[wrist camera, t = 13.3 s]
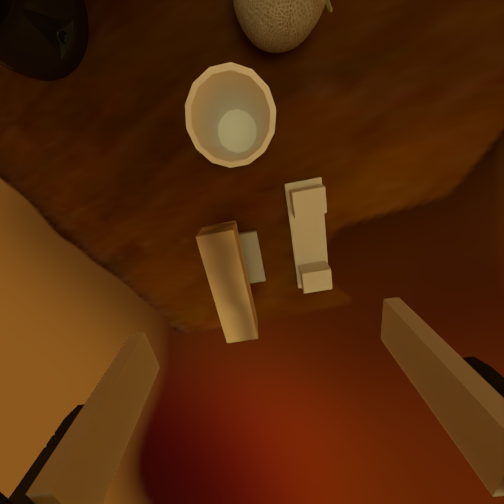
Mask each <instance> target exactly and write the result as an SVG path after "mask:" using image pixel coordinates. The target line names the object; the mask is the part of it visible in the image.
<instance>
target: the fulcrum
mask: <svg viewBox="0 0 504 504" xmlns="http://www.w3.org/2000/svg"><path fill="white" fill-rule="evenodd" d="M239 238H240V242H241V247H242V251H243V256H244V260H245V265H246V269H247V274H248V278H249V283H256V282H262V281H266V278H265V273H264V268H263V262H262V257H261V252H260V247H259V241H258V236H257V231H256V230H252V231H247V232H241V233H239Z"/></svg>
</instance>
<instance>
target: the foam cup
mask: <svg viewBox="0 0 504 504" xmlns="http://www.w3.org/2000/svg"><path fill="white" fill-rule="evenodd" d="M185 115H186V129H187V131H188V133H189V135H190V137H191V139H192V141H193V144H194V146H195V148H196V149H197V150H198V151H199V152H200V153H201V154H203V155H204V156H205V157H206V158H207V159H208V160H209V161H211V162H212V163H215V164H219V165H222V166H226V167H229V168H232V167H237V166H242V165H247V164H250V163H251V162H252V161H254V160H255V159H256V158H258V157H259V156H260V155H261V154H263V153H264V152H265V150H266V149H267V147H268V145H269V143H270V141H271V139H272V137H273V135H274V133H275V120H276V107H275V104H274V101H273V98H272V95H271V92H270V89H269V86H268V85H267V84H266V83H265V82H264V81H263V80H262V79H261V78H260V77H259V76H258V75H257V74H256V73H255V72H254V70H253V69H250V68H247V67H244V66H241V65H238V64H235V63H232V62H229V63H225V64H221V65H216V66H212V67H209V68H208V69H207V70H206V71H205V72H204V73H203V74H202V75H201V76H200V77H198V78H197V79H196V80H195V81H194V82H193V84H192V87H191V89H190V92H189V95H188V98H187V100H186V103H185Z"/></svg>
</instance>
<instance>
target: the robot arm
mask: <svg viewBox="0 0 504 504" xmlns="http://www.w3.org/2000/svg"><path fill="white" fill-rule="evenodd" d="M87 35H88V24H87V16H86V10H85V6H84V2H83V0H0V64H1V65H3V66H5V67H7V68H9V69H11V70H13V71H15V72H18V73H20V74H23V75H26V76H28V77H31V78H35V79H40V80H55V79H59V78H62V77H64V76H66V75H67V74H69V73H70V72H71V71H73V70H74V69H75V68H76V66H77V65H78V64H79V62H80V60H81V59H82V56H83V54H84V51H85V48H86V43H87ZM381 340H382V341H383V343H384V344H385V346H386V347H387V349H388V350H389V351H390V353H391V354H392V355H393V357H394V358H395V360H396V361H397V363H398V364H399V365H400V367H401V368H402V370H403V371H404V372H405V374H406V375H407V377H408V378H409V380H410V381H411V382H412V384H413V385H414V386H415V388H416V389H417V391H418V392H419V394H420V395H421V396H422V398H423V399H424V401H425V402H426V403H427V405H428V406H429V408H430V409H431V410H432V412H433V413H434V415H435V416H436V418H437V419H438V420H439V422H440V423H441V425H442V426H443V427H444V429H445V430H446V432H447V433H448V434H449V436H450V437H451V438H452V440H453V441H454V443H455V444H456V446H457V447H458V449H459V450H460V451H461V453H462V454H463V456H464V457H465V458H466V460H467V461H468V463H469V464H470V465H471V467H472V468H473V470H474V471H475V472H476V474H477V475H478V477H479V478H480V479H481V481H482V482H483V484H484V485H485V486H486V488H487V489H488V491H489V492H490V494H491V495H492V496H493V497H494V496H504V378H503V377H502V376H501V375H500V374H499V373H498V372H497V371H496V370H494V369H493V368H492V367H491V366H489V365H487V364H485V363H484V362H482V361H480V360H479V359H477V358H475V357H466V358H461V357H460V356H459V355H458V354H457V353H456V352H455V351H454V350H453V349H452V348H451V347H450V346H449V345H448V344H447V343H446V342H445V341H444V340H442V338H441V337H440V336H438V335H437V334H436V333H435V332H434V331H433V330H432V329H431V328H430V327H429V326H428V325H427V324H426V323H425V322H424V321H423V320H422V319H421V318H420V317H419V316H417V314H416V313H414V312H413V311H412V310H411V309H410V308H409V307H408V306H407V305H406V304H405V303H404V302H403V301H402V300H401V299H400V298H399V297H397V298H389V299H384V304H383V316H382V329H381ZM159 368H160V367H159V364H158V362H157V360H156V358H155V355H154V353H153V351H152V348H151V346H150V344H149V341H148V339H147V337H146V334H145V332H139V333H132V334H131V335H130V336H129V338H128V339H127V341H126V342H125V344H124V346H123V347H122V348H121V350H120V351H119V353H118V354H117V356H116V357H115V359H114V360H113V362H112V363H111V365H110V367H109V368H108V370H107V371H106V373H105V374H104V376H103V377H102V379H101V380H100V382H99V383H98V385H97V386H96V388H95V389H94V391H93V392H92V394H91V396H90V397H89V398H88V400H87V402H86V403H85V404H84V405H78V406H77V407H76V408H75V409H74V410H73V411H72V412H71V413H70V414H69V415H68V416H67V417H66V418H65V419H64V420H63V422H62V423H61V425H60V426H59V427H58V429H57V430H56V432H55V435H53V436H52V437H51V439H50V441H49V442H48V443H47V446H46V448H44V449H43V450H42V452H41V453H40V455H39V456H38V457H37V459H36V460H35V462H34V463H33V465H32V466H31V468H30V469H29V471H28V472H27V473H26V475H25V476H24V478H23V479H22V480H21V482H20V483H19V485H18V486H17V488H16V489H15V490H14V492H13V493H12V495H11V496H10V497H9V499H8V498H7V497H5V496H4V495H3V494H2V493H1V492H0V504H102V503H103V501H104V499H105V496H106V494H107V492H108V489H109V487H110V484H111V482H112V479H113V477H114V475H115V473H116V470H117V468H118V465H119V463H120V461H121V458H122V456H123V454H124V451H125V449H126V446H127V444H128V442H129V439H130V437H131V434H132V432H133V430H134V427H135V425H136V422H137V420H138V418H139V415H140V413H141V411H142V408H143V406H144V404H145V401H146V399H147V396H148V394H149V392H150V389H151V387H152V384H153V382H154V380H155V377H156V375H157V373H158V370H159Z"/></svg>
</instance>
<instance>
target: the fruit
mask: <svg viewBox="0 0 504 504" xmlns="http://www.w3.org/2000/svg"><path fill="white" fill-rule="evenodd" d="M325 3H326V6H327V9H328V12H332V7H331V3H330V0H233V4H234V8H235V12H236V16H237V18H238V21H239V23H240V26H241V28H242V30H243V31H244V33H245V35H246V36H247V37H248V39H249V40H250V41H251V42H252V43H253V44H254V45H255V46H256V47H257V48H259V49H261V50H263V51H265V52H269V53H283V52H286V51H289V50H292V49H294V48H295V47H297V46H298V45H300V44H301V43H302V42H303V41H304V40H305V39H306V37H307V36H308V35H309V34H310V32H311V31H312V30H313V28H314V27H315V25H316V24H317V22H318V20H319V18H320V16H321V13H322V11H323V8H324V6H325Z"/></svg>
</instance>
